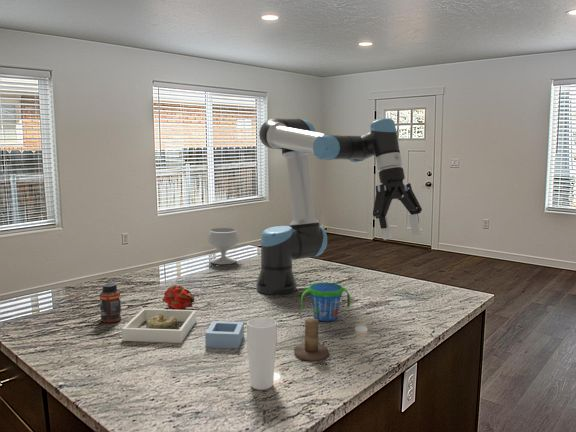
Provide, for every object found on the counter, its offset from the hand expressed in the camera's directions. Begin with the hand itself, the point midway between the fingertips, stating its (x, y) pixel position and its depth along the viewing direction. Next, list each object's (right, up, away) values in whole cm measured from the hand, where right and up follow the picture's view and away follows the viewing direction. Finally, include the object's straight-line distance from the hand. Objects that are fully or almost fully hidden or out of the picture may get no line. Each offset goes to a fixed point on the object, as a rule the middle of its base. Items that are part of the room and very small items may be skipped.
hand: (402, 237), depth 149 cm
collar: (-52, -28, -13) cm, 61 cm away
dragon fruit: (-71, -25, +13) cm, 76 cm away
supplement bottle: (-89, -26, +2) cm, 93 cm away
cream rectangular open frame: (-72, -27, -6) cm, 77 cm away
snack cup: (-23, -26, +6) cm, 35 cm away
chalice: (-65, -15, +77) cm, 102 cm away
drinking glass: (-41, -32, -37) cm, 64 cm away
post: (-29, -30, -20) cm, 46 cm away
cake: (-72, -27, -5) cm, 77 cm away
